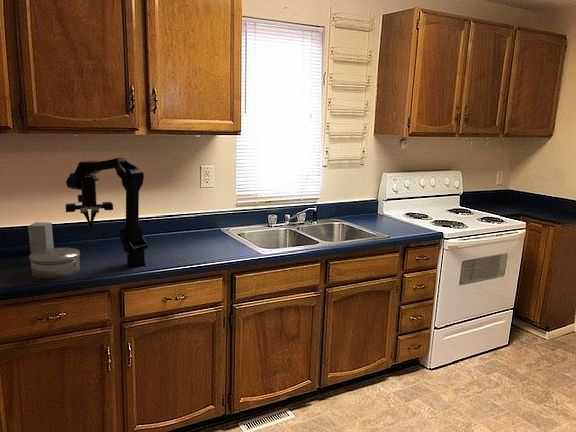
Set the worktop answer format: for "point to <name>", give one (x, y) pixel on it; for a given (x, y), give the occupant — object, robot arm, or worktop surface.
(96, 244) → the worktop surface
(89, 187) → the robot arm
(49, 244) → the supplement box
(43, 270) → the cooker pot
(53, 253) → the lid
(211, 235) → the worktop surface
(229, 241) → the worktop surface
